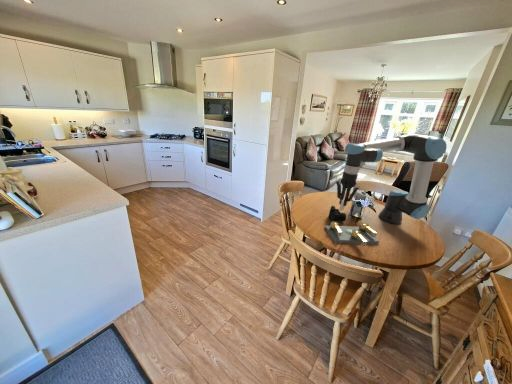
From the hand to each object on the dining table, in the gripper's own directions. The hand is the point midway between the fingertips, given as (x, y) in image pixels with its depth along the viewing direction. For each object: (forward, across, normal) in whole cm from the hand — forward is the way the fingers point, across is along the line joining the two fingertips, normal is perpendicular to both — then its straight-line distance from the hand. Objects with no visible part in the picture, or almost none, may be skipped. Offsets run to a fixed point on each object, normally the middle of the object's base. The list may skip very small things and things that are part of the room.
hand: (341, 209), depth 125 cm
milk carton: (+19, -3, +40) cm, 44 cm away
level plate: (+19, +6, +8) cm, 22 cm away
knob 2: (+17, +13, +17) cm, 27 cm away
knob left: (+16, +13, +3) cm, 21 cm away
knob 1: (+16, 0, +1) cm, 16 cm away
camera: (+19, -8, +18) cm, 28 cm away
